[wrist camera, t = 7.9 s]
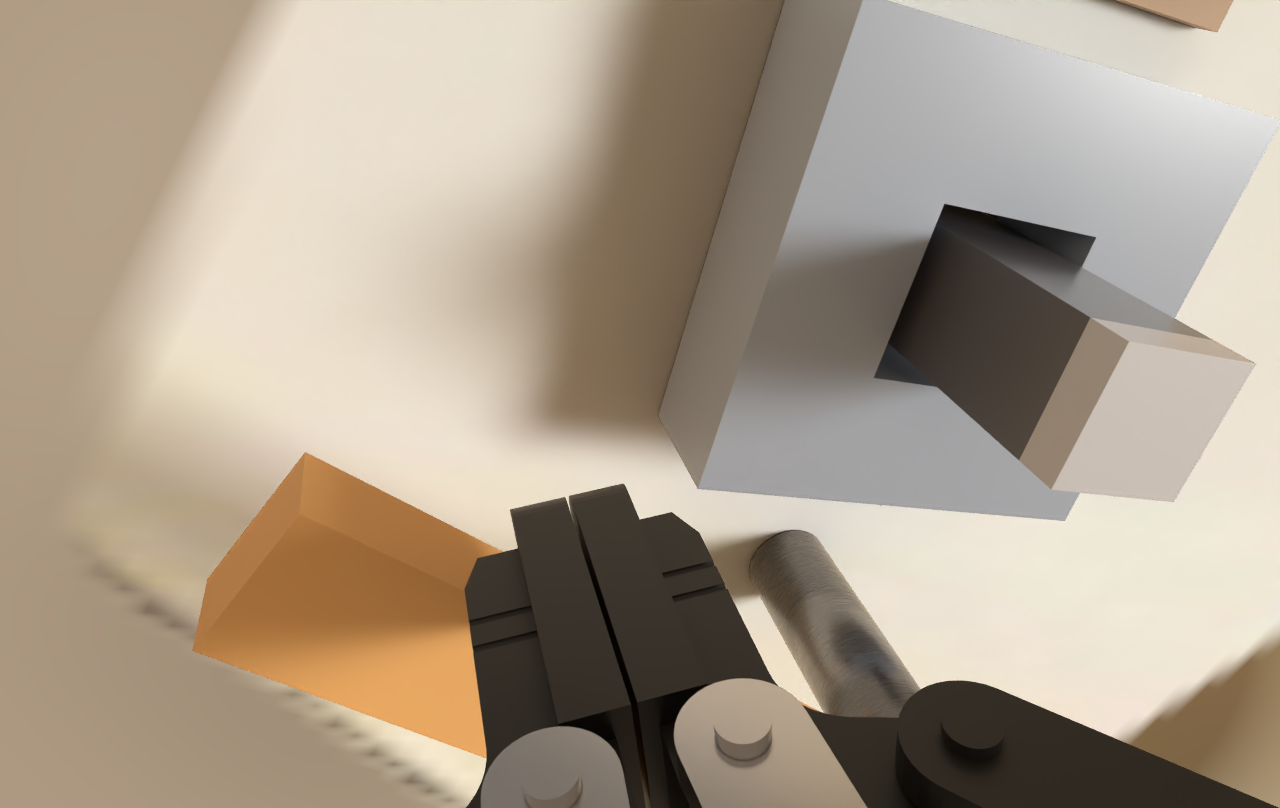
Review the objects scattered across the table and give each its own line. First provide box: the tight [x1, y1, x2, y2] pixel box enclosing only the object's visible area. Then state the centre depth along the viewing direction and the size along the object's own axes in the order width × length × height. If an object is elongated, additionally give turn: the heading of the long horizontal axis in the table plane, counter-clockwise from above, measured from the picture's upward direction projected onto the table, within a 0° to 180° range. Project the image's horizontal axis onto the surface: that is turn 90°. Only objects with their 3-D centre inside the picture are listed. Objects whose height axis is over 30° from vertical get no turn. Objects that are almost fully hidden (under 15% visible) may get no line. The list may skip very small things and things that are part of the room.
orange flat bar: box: [193, 452, 818, 758], centre depth 16 cm, size 18×3×1 cm, turn 49°
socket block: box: [658, 0, 1280, 521], centre depth 23 cm, size 11×11×4 cm
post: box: [749, 531, 921, 718], centre depth 25 cm, size 2×2×9 cm
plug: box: [888, 204, 1256, 502], centre depth 21 cm, size 3×3×9 cm
